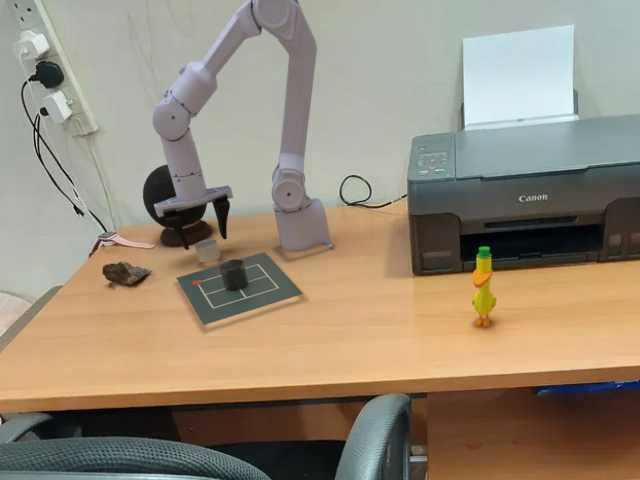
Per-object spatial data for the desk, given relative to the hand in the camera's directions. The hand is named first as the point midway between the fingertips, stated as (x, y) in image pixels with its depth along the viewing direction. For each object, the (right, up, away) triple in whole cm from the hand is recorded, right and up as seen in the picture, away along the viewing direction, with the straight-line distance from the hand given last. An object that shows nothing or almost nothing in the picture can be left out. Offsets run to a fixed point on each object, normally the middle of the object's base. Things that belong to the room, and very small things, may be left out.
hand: (205, 242), depth 130 cm
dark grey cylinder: (+8, -11, -10) cm, 16 cm away
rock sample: (-15, -8, 0) cm, 17 cm away
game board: (+8, -11, -9) cm, 17 cm away
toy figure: (+49, -21, -28) cm, 60 cm away
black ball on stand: (-8, +6, +16) cm, 19 cm away
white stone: (+1, -3, +3) cm, 4 cm away
